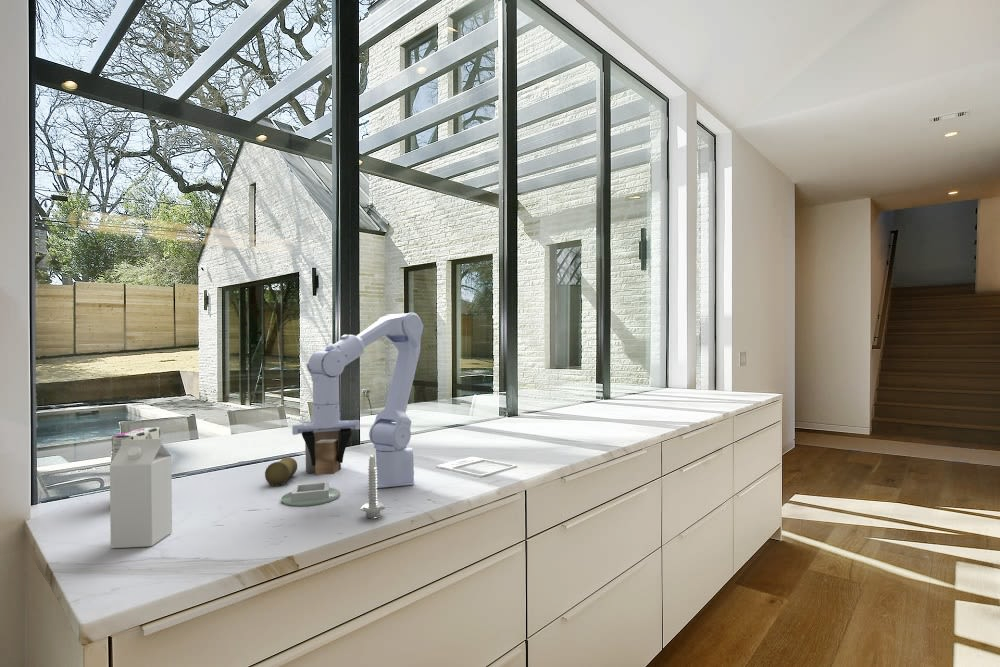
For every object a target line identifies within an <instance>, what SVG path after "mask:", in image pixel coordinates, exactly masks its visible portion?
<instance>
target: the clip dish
mask: <svg viewBox="0 0 1000 667" xmlns="http://www.w3.org/2000/svg"><path fill="white" fill-rule="evenodd" d="M340 496H341V491H340V490H339V489H337V488H333V487H330V481H321V482H309V483H298V484H294V485H293V487H292V491H290V492H288V493H285V494H283V496H282V497H281V499H280V500H281V501H280V502H281V504H283V505H285V506H289V507H310V506H311V507H312V506H317V505H324V504H326V503H327V504H328V503H331V502H333V501H336V500H337V499H339V498H340Z"/></svg>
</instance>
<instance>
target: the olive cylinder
mask: <svg viewBox="0 0 1000 667" xmlns="http://www.w3.org/2000/svg"><path fill="white" fill-rule="evenodd" d="M297 470H298V463H297V461H296V459H295V458H293V457H290V456H289V457H288V456H287V457H284V458H282V459H280V460H279V461H276V462H273V463H271V464H268V466H267V467H266V469H265V472H264V477H265V480H266V482H267V483H268V484H270V485H271V486H273V487H274V486H275V487H277V486H276V485H280V486H281V485H284V484H285V483H286V482H287V481H288V480H289V478H290V477H292V476H293V475H294V474H295V473H297Z"/></svg>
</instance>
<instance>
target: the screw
mask: <svg viewBox="0 0 1000 667" xmlns="http://www.w3.org/2000/svg"><path fill="white" fill-rule="evenodd" d="M368 462H369V463H368V466H367V467H368V468H367V470H368V472H367V473H368V474H367V475H368V480H367V482H368V483H367V485H368V486H367V487H368V492H367V493H368V502H366V503H365V504H362V506H361V507H360V511H362V512H365V518H367V517H368V519H369V518H373V519H375V518H374V517H378V516H379V517H380V516H381V511H382V510H384V509H385V508H386V505H385V504H384V503H383V502H380V501H378V488H377V486H376V485H377V484H376V483H377V481H376V480H377V478H376V477H377V475H376V474H377V472H376V471H377V470H376V468H377V467H376V455H374V454H370V456H369V459H368ZM379 517H378V518H379Z"/></svg>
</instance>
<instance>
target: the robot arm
mask: <svg viewBox="0 0 1000 667" xmlns="http://www.w3.org/2000/svg"><path fill="white" fill-rule="evenodd" d="M424 327H425V326H424V323H423V322H422V320H421V318H420V316H419V314H417V313H415V312H413V311H412V312H408V313H406V312H405V313H387V314H385V315H384V316H381V317H379V318H378V320H376V321H375V322H373V324H371V325H369V326H368V327H367V328H365V329H364V330H362V331H361V332H360V333H358V334H356V335H355V334H343V335H342V336H340V340H338V341H337V342H334V343H333V344H328V345H327V346H325V349H324V350H322V351H320V350H319V351H316V352H314V353H312V354H311V355H310V357H309V359H308V363H306V369H307V371H308V373H309V374H310V376H311V381H312V404H313V405H312V415H313V416H312V419H313V420H312V421H313V423H307V422H305V423H306V424H305V423H300V424H292V425H291V426H292V427H291V429H292V432H291V433H292V435H293V436H295V435H301V437H302V438H303V440H304V444H305V443H306V445H307V447H308V450H309V453H310V457H311V463H312V466H315V464H316V460H315V437H314V433H315V432H327V431H338V441H339V450H338V461H339V463H341V464H343V461H344V456H345V451H346V448H347V445H348V443H349V441H350V439H351V436H352V430H360V429H361V426H360V425H361V424H360V423H361V422H360V420H359V419H353V420H351V419H350V420H349V419H348V420H340V417H341V416H340V375H342V373H343V372H344V369H345V366H348V365H349V364H350V363H352V362H353V361H355V360H356V359H358V358H359V357H361V356H362V355H363V354H364V352H365V348H366V347H368V346H369V345H371V344H373V343H374V342H376V341H378V340H380V339H382V338H383V337H386V338H387V340H389V341H390V342H391V344H392V345H393V346H394V347H396V350H397V351H398V353H397V356H396V361H395V365H394V368H393V369H394V370H393V373H392V378H391V382H390V385H389V389H388V393H387V398H386V402H385V404H384V405H385V406H384V408H383V410H381V411H380V412H379V413H378V414H377V415H376V416H375V420H374V422H373V424H372V425H371V427H370V429H369V433H368V435H369V436H368V437H369V440H370V442H371V444H373V445H374V446H373V448H374V450H375V462H376V467H377V468H376V470H377V471H376V472H377V474H376V475H377V477H376V478H377V480H376V481H377V483H376V484H377V485H376V486H377V488H376V489H382V488H391V487H401V486H412V485H415V479H414V477H415V476H414V475H415V468H414V465H415V463H414V452H413V447H412V446H411V447H410V446H409V447H407V446H408V445H409V443H410V441H411V436H412V432H411V425H412V420H411V419H410V418H409V416H408V415H407V413H406V412H407V409H408V405H409V399H410V395H411V391H412V386H413V381H414V378H415V374H416V371H417V365H418V361H419V358H420V353H421V348H422V347H421V340H422V335H423V330H424ZM335 427H336V428H335ZM327 428H332V429H327ZM318 429H320V430H318Z"/></svg>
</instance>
